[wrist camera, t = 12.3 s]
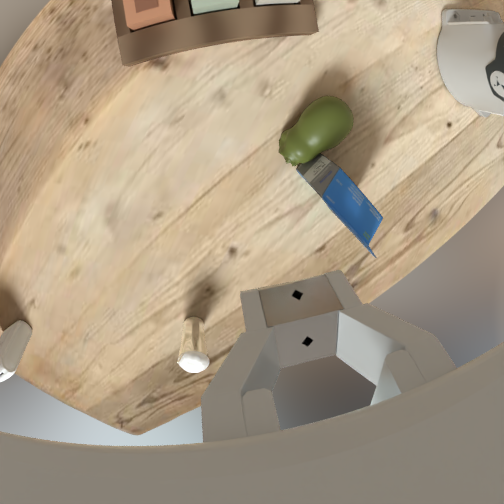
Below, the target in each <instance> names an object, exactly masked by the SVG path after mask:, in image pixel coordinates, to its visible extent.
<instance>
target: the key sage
mask: <svg viewBox="0 0 504 504" xmlns="http://www.w3.org/2000/svg"><path fill="white" fill-rule="evenodd" d="M191 3H192V9H193V13H194V16H197V15H202V14H208V13H214V12H220V11H226V10H233V9H236V8H237V6H238V3H239V0H191Z"/></svg>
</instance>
